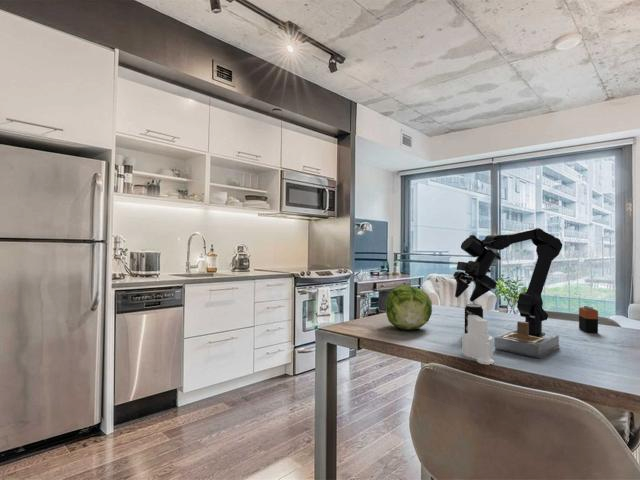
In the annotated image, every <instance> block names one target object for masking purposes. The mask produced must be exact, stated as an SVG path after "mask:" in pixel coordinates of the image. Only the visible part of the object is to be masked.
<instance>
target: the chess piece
mask: <svg viewBox="0 0 640 480" xmlns="http://www.w3.org/2000/svg"><path fill="white" fill-rule="evenodd" d="M483 333H485V334H484V335H482V338H483V341H484V342H482V344H483V345H484V349H483V355H482V357H479V358H477V359H476V362H477V363H478V364H481V365H488V366H491V365H490V364H492V365H494V364H495V360H494V359H493V358H490V357H489V355H488V348H487V345H489V343H488V342H487V341H488V339H489V336H490V335H489V333H490V331H488V328H487V329H485V331H483ZM493 363H494V364H493Z"/></svg>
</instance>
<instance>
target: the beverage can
mask: <svg viewBox="0 0 640 480" xmlns="http://www.w3.org/2000/svg"><path fill="white" fill-rule="evenodd" d="M468 315H477V316H479V317H481V318H483V319H484V309H483V306H482V304H476V303H467V304H465V306H464V334H466V333H468Z"/></svg>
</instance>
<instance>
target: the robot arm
mask: <svg viewBox="0 0 640 480" xmlns="http://www.w3.org/2000/svg"><path fill="white" fill-rule="evenodd" d="M525 241H531V243H532V244H533V245H534V246H535V247H536V250H535V252H536V255H537V260H536V262H535V266H534V269H533V271H532V276H531V278H530V281H529V284H528V287H527V290H526V291H525V293H522V292H521V293H519V295H518V299H517V301H516V308H517V310H518V312H519V315H520V317H523V318H524V319H525V321H524V322H529V336H534V337H541V336H543V335H546V332H544V331H543V321H544V322H545V321H548V317H549V314H548V313H547V312H546V311H545V309H543V304H544V301H543V298H542V293H543V289H544V287H545V284H546V280H547V277H548V274H549V270H550V268H551V265H552V262H553V261H554V260H555V259H556V258H557V257H558V256H559V255H560V253H561V251H562V249H563V243H562V241H561V240H560V239H559V237H556V236H555V235H552V234H550V233H548V232H546V231H545V230H543V229H542V228H540V227H531V228H528V229H525V230H520V231H515V232H511V233H508V234H507V233H506V234H489V235H486V236H485V237H484V238H483V239H482V240H481V239H479V238H478V237H477V236H476V235H474V234H470V235H469V236H468V237H466V239H464V241H462V242H461V245H460V248H461V250H463V251H464V252H465V253H467V254H468V255H469V256H471V257H472V258H476V259H475V261H473V260H468V262H464V261H458V262H457V263H456V264H457V265H456V270H457V271H455V272H454V274H453V275H452V277H453V278H454V280H455V281H456V289H455V294H454V297H455V298H456V299H457V298H459V297H460V296H461V295H462V294H463V293H464V292H465V291H466V290H467V289H468V288H469V287H470V284H471V283H472V282H473V283H474V289H473V291H472V293H471V295H470V299H469V301H470V302H471V303H473V302H474V301H476V300H477V299H479V298H480V297H481V296H483V295H485V294H486V293H488V292H491V291H492V290H495V289H496V287H497V282H496V280H494V279H493V278H491V277H490V276H489V275H487V273H489V274H491V271H492V270H491V266H492V265H493V263H494V261H495V260H496V261H501V259H502V258H501V256H500V252H496V251H502V250H504V249H508V248H509V247H510V246H511V245H513V244H516V243H521V242H525ZM494 250H495V251H494Z"/></svg>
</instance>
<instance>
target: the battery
mask: <svg viewBox="0 0 640 480" xmlns="http://www.w3.org/2000/svg"><path fill="white" fill-rule="evenodd" d="M578 329H579V330H580V331H582V332H583V333H584V332H585V333H588V334H590V333H591V334H598V333H599V311H598V310H597V309H595V308H594V307H592V306H588V305H584V306H583V307H579V308H578Z"/></svg>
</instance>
